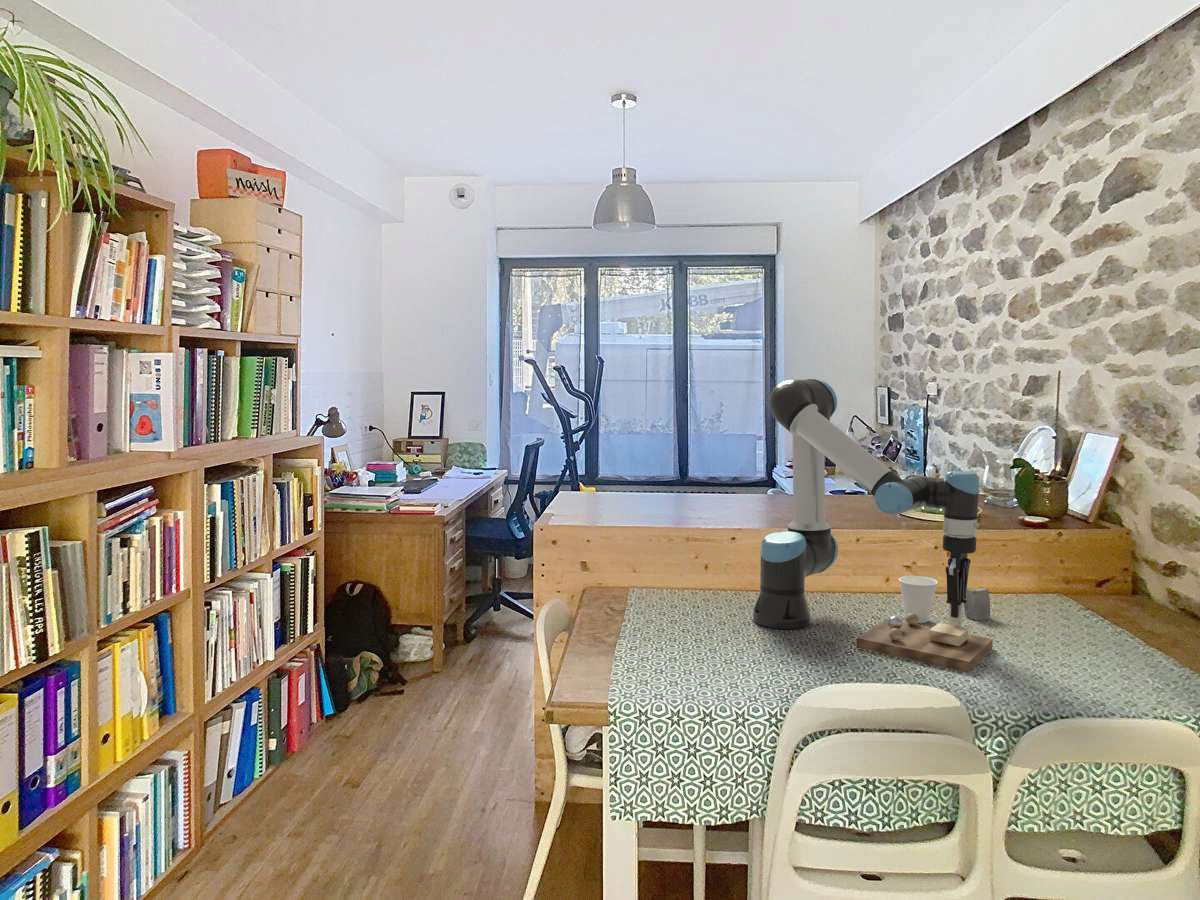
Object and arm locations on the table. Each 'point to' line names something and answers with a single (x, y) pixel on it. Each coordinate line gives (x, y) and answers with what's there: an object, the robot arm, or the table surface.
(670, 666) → the table surface
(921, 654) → the board
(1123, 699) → the table surface
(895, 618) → the steel ball
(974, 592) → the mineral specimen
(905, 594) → the cup
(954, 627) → the cover
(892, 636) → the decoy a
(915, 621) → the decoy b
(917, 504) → the robot arm
